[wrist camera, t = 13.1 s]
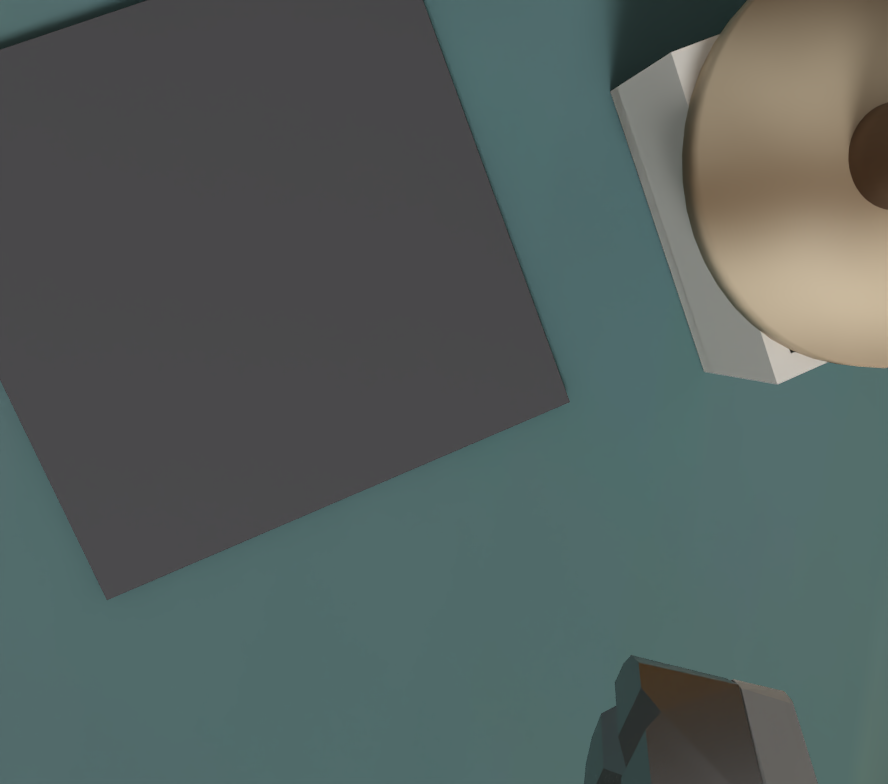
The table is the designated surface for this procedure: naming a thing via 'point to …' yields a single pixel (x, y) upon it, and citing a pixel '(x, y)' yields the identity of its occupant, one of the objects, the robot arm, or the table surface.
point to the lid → (796, 173)
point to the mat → (248, 270)
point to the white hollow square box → (660, 172)
